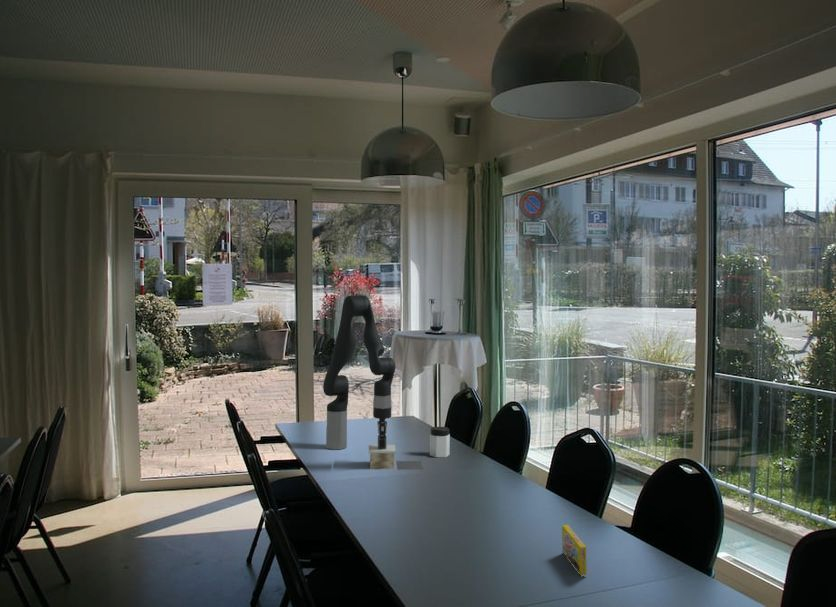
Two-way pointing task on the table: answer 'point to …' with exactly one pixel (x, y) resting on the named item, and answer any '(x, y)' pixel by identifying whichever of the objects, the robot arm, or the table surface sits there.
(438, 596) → the table surface
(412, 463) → the mat
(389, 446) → the lid
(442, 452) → the jar
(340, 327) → the robot arm
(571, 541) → the candy box
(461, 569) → the table surface
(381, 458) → the crate
